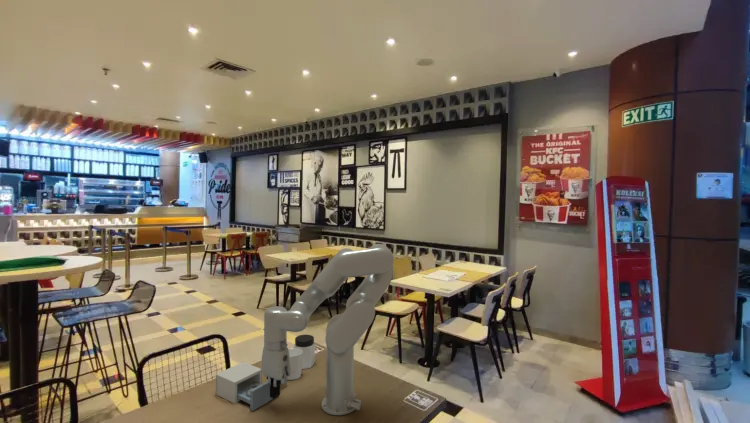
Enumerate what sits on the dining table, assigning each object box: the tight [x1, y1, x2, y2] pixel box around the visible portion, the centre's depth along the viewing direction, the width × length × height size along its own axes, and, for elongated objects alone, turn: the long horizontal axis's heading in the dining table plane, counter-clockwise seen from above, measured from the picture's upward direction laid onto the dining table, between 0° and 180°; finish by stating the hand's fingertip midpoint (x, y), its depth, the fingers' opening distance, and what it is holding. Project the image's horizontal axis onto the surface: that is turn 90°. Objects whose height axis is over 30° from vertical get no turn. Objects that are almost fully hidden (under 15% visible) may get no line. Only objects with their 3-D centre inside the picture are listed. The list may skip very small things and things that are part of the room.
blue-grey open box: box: [237, 380, 278, 412], centre depth 127 cm, size 11×12×7 cm
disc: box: [246, 383, 261, 397], centre depth 128 cm, size 6×6×2 cm
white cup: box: [287, 347, 303, 381], centre depth 145 cm, size 8×8×10 cm
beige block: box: [280, 381, 288, 391], centre depth 136 cm, size 4×4×6 cm
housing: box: [215, 361, 263, 404], centre depth 132 cm, size 11×12×8 cm
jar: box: [293, 334, 316, 370], centre depth 155 cm, size 9×8×12 cm
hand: (274, 396), depth 122 cm, fingers closed
